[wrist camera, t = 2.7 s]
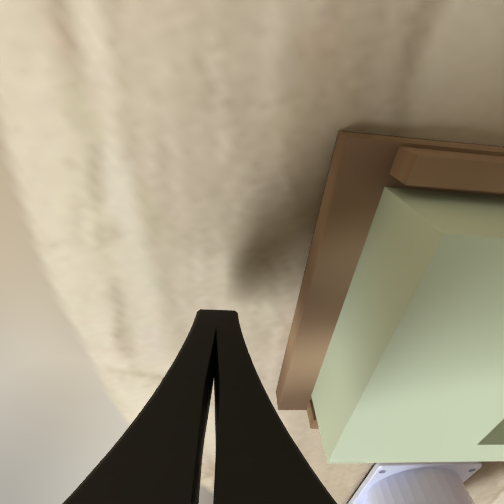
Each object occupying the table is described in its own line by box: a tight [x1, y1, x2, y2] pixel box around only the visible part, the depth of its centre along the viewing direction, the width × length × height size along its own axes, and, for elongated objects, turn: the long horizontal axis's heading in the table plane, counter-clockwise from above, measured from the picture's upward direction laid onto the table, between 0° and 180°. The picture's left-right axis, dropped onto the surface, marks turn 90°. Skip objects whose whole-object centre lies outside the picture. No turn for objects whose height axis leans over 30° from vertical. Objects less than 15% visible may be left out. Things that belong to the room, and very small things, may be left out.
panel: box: [311, 187, 504, 463], centre depth 11 cm, size 11×9×3 cm
